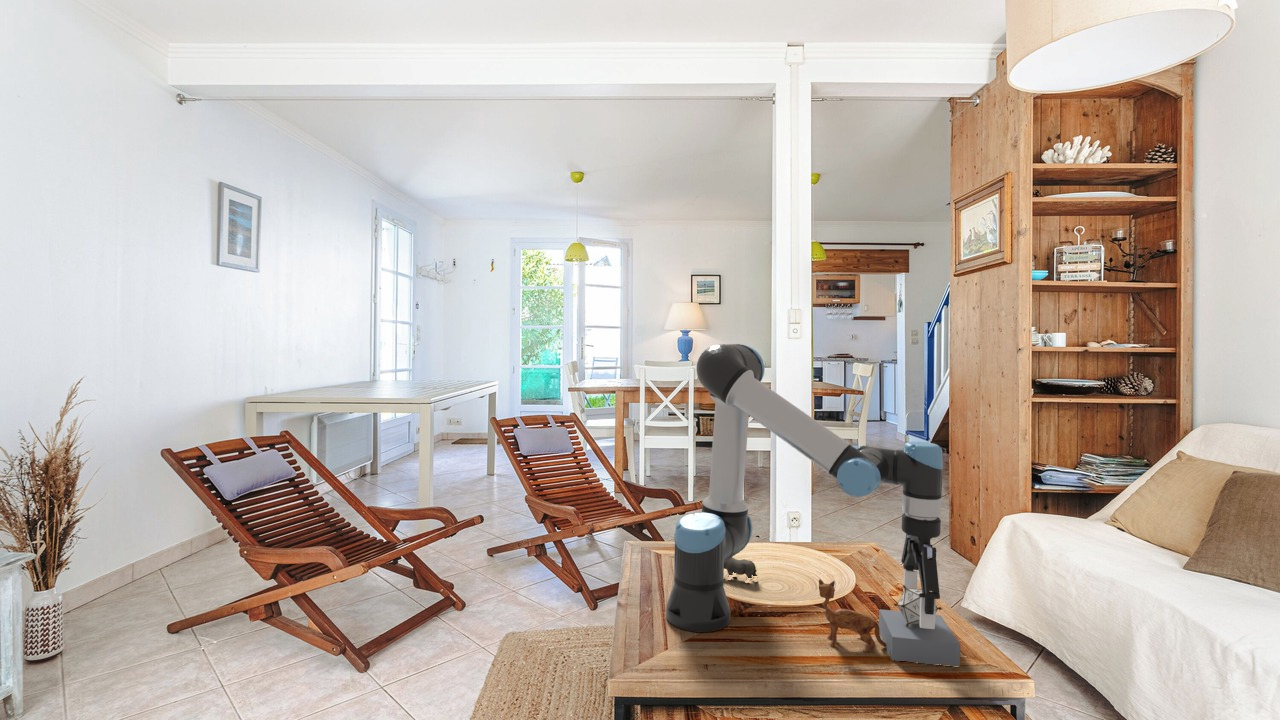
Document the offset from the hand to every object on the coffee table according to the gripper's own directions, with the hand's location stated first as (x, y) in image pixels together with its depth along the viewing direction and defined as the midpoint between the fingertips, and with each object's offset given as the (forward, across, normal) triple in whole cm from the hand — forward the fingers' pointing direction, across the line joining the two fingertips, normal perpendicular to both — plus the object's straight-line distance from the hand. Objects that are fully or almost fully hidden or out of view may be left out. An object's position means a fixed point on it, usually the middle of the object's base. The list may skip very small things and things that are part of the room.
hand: (917, 613), depth 129 cm
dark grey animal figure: (+8, +30, +40) cm, 51 cm away
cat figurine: (+8, -1, +12) cm, 15 cm away
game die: (+3, 0, 0) cm, 3 cm away
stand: (+8, 0, 0) cm, 8 cm away
